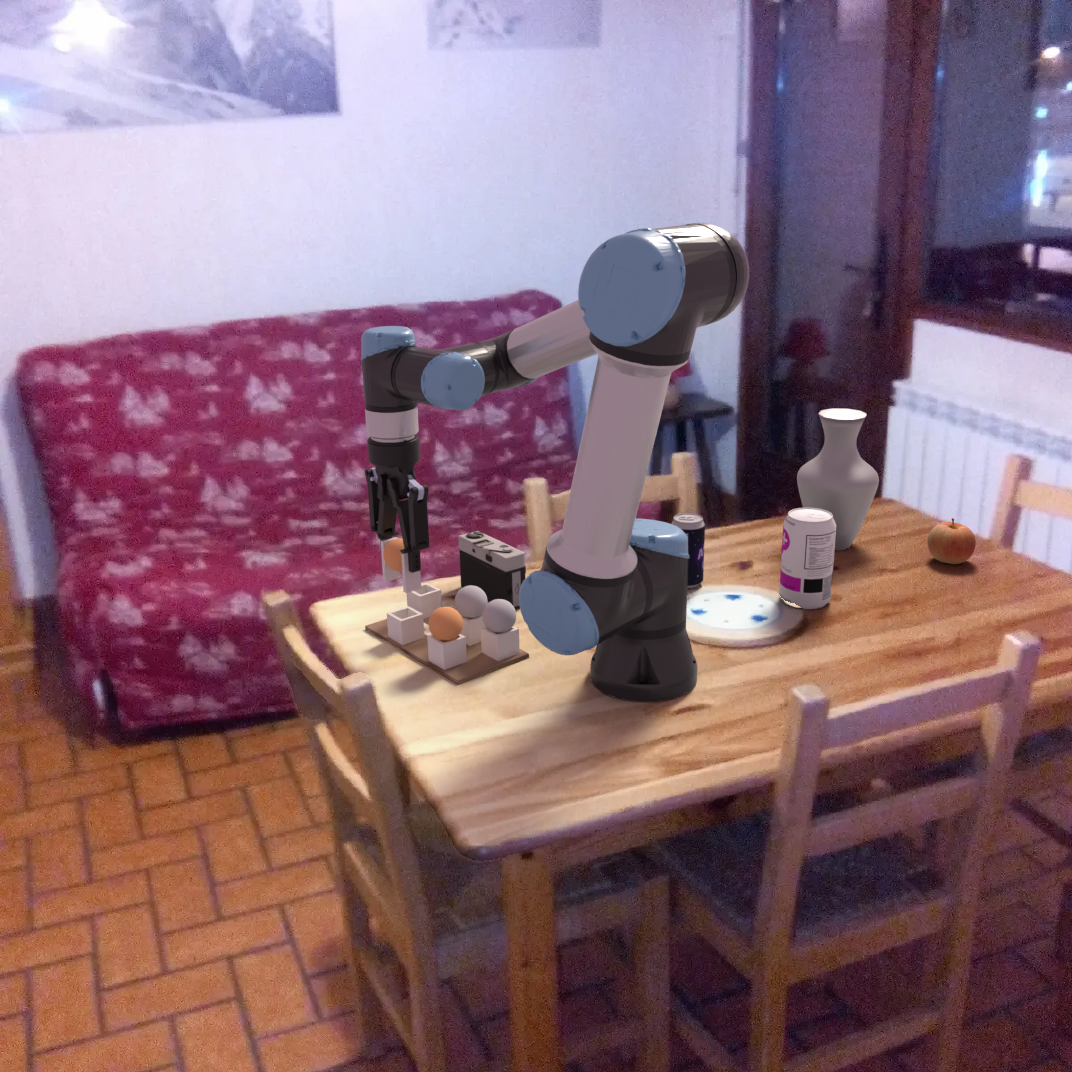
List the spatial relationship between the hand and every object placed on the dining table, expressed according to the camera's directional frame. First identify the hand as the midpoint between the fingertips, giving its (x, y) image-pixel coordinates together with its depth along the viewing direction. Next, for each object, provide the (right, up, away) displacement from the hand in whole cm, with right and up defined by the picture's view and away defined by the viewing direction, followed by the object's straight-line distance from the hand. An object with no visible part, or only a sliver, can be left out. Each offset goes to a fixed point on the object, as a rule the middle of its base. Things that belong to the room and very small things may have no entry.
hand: (402, 584), depth 170 cm
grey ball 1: (+11, -5, +1) cm, 12 cm away
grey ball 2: (+15, -7, -4) cm, 17 cm away
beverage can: (+46, -1, +22) cm, 51 cm away
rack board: (+6, -9, +2) cm, 11 cm away
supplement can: (+64, -4, +15) cm, 66 cm away
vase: (+75, +6, +39) cm, 85 cm away
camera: (+14, -3, +20) cm, 25 cm away
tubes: (+6, -9, +2) cm, 11 cm away
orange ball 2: (+7, -8, -6) cm, 12 cm away
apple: (+94, +3, +30) cm, 98 cm away
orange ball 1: (0, +2, -1) cm, 2 cm away
